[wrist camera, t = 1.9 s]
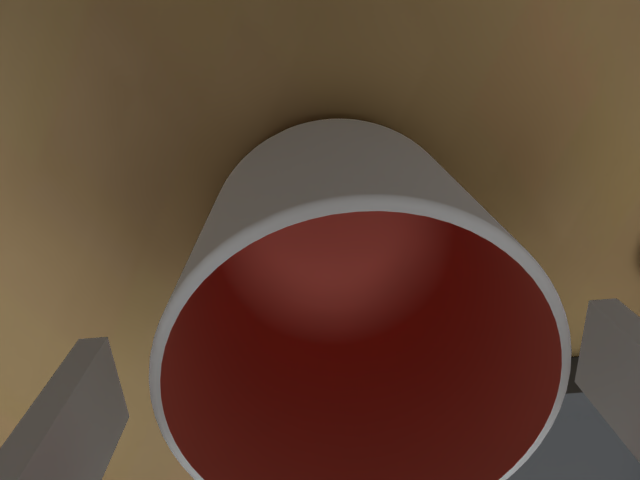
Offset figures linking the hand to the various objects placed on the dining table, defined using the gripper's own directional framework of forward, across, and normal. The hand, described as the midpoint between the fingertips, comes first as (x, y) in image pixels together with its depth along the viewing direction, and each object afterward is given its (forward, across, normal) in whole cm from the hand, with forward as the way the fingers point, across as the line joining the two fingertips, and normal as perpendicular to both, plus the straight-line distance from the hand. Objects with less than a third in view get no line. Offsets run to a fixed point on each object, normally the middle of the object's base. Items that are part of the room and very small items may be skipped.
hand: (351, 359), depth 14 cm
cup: (+8, 0, +1) cm, 8 cm away
